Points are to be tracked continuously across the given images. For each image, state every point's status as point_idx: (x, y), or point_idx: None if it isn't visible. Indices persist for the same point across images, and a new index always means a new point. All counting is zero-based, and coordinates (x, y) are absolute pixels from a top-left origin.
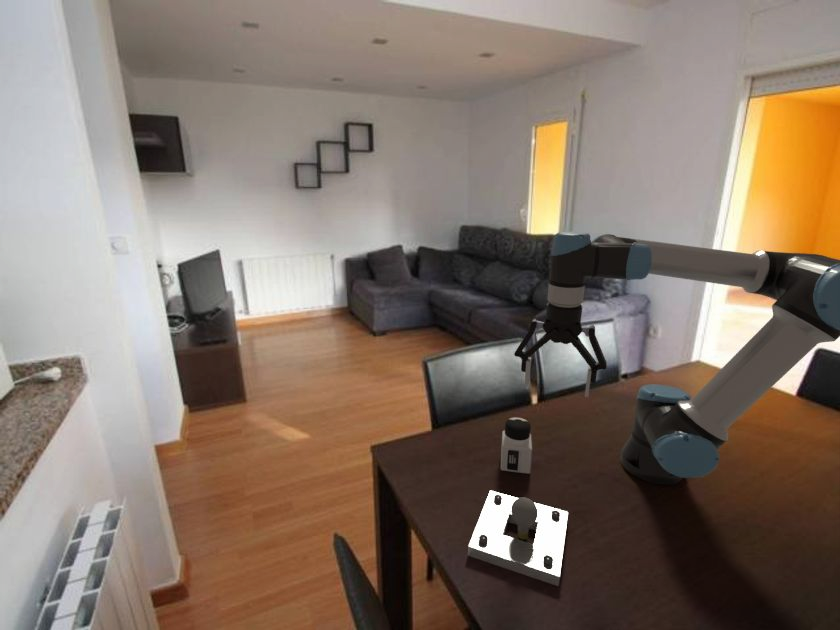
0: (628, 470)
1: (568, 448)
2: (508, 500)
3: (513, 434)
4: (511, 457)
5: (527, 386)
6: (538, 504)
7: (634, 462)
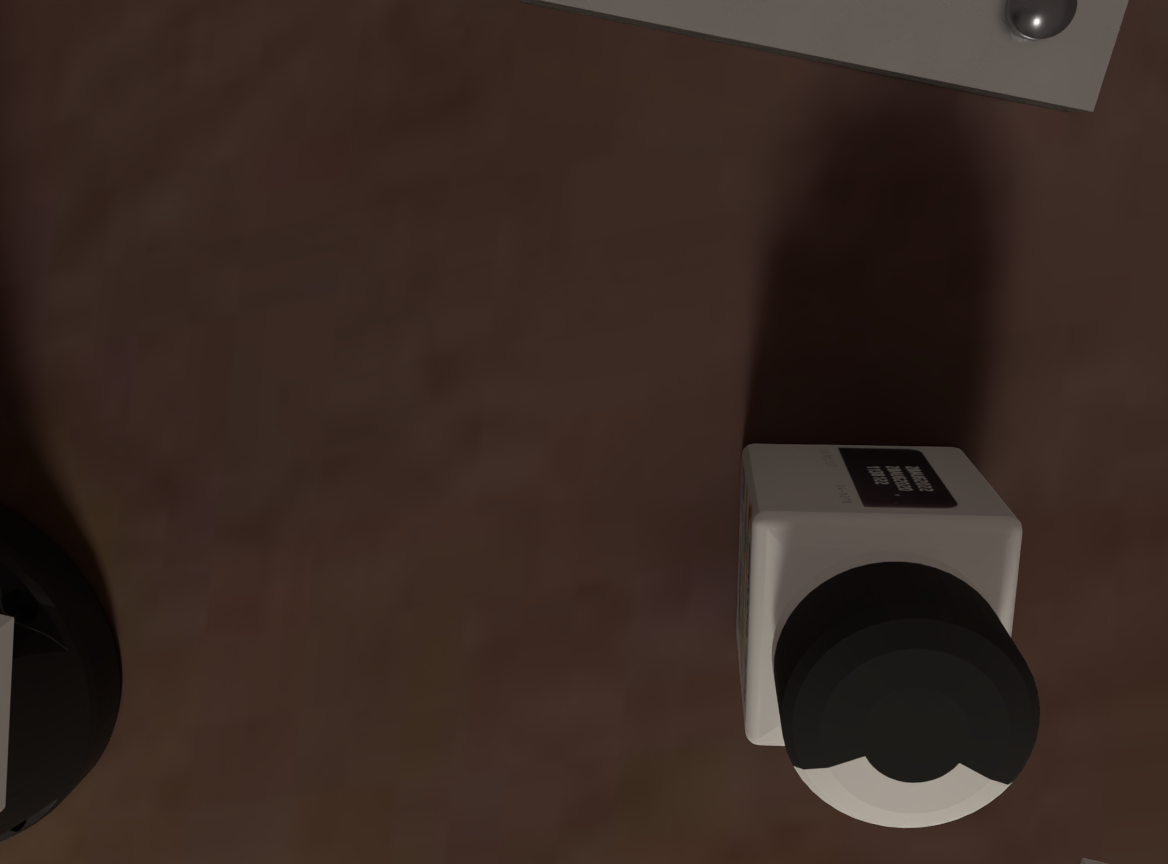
0: (78, 581)
1: (448, 768)
2: (951, 22)
3: (951, 592)
4: (911, 484)
5: (1085, 862)
6: (721, 27)
7: (15, 620)
